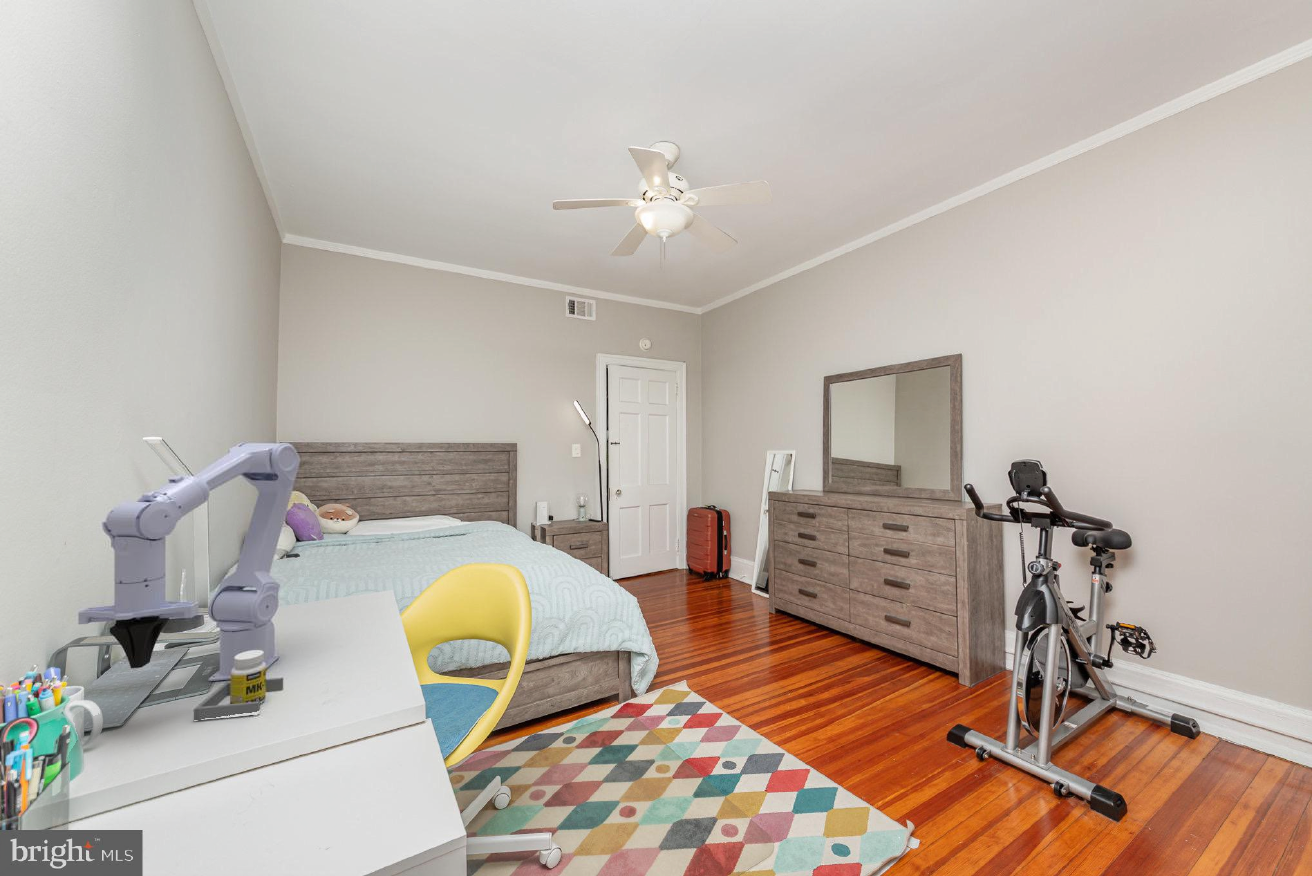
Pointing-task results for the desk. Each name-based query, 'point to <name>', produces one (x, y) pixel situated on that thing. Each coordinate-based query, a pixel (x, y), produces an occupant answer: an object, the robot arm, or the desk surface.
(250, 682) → the supplement bottle
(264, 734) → the desk surface
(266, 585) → the robot arm
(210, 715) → the cradle
